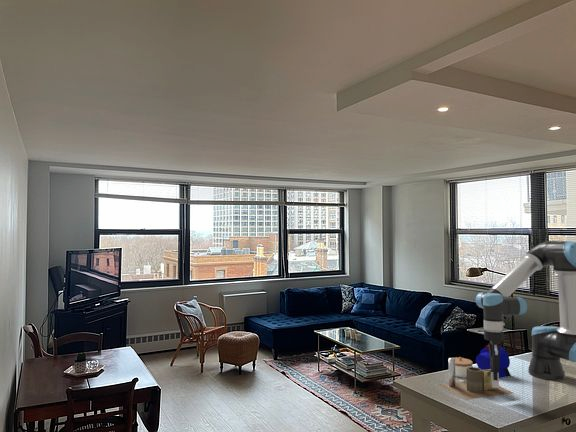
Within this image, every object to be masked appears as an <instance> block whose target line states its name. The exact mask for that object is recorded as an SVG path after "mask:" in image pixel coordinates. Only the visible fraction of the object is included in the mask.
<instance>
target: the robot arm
mask: <svg viewBox="0 0 576 432" xmlns="http://www.w3.org/2000/svg"><path fill="white" fill-rule="evenodd" d="M547 266H552V267H553V271H554V273H556V274H557V283H558V284H557V289H558V307H559V309H558V310H559V327H558V326H553V325H552V326H550V325H549V326H547V325H541V326H540V325H539V326H534V327H532V330H531V335H530V336H531V353H532V354H531V355H532V356H531V359H530V363H529V366H528V369H527V370H528V373H529V375H531V376H533V377H536V378H539V379H544V380H550V381H559V380H561V381H562V380H565V379H566V372H565V371H564V368H563V364H562V362H561V359H563V360H567V361H570V362H571V363H576V241H570V240H569V241H567V240H565V241H563V240H561V241H560V240H559V241H558V240H557V241H556V240H548V241H544V242H541V243H539V244H537V245H535V246H534V247H532V248H531V249H530V250H528V251H527V252H526V253H525V254H524V255H523V256H522V260H520V261H519V262H518V263H517V264H515V266H514V267H512V269H510V270H509V272H507V273H506V274H505V275H504V276H503V277H502V278H501V279H500V280H498V281H497V282H496V283H495V284H494V285H493V286H492V287H491V288H490V289H489V290H487V292H485V291H483V292H478V294H476V296H475V303H476V306H478V308H481V309H482V310H483V311H482V312H483V329H484V330H483V338H484V340H486V341H489V342H488V344H487V345H488V346H489V353H490V367H491V370H490V372H491V384H492V388H499V386H500V382H499V381H500V378H499V371H500V370H499V363H500V351H499V350H500V346H501V345H500V342H503V341H504V340H505V336H504V335H505V334H504V326H505V324H506V323H505V322H504V317H505V316H519V315H524V314H526V312H527V310H528V303H527V302H526V299H524V298H522V297H519V296H514V297H512V296H511V295H512V294H513V293H514V292H515V291H516V290H517V289H518V288H519V287H520V286H521V285H523V284H524V283H525V281H526V280H528V279H529V278H530V277H531V276H532V275H533V274H534V273H536V272H537V271H541V270H542V269H543V268H546V267H547ZM510 296H511V297H510ZM498 343H499V344H498Z"/></svg>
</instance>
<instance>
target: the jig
mask: <svg viewBox="0 0 576 432" xmlns="http://www.w3.org/2000/svg"><path fill="white" fill-rule="evenodd" d="M490 370H491V369H488V370H482V369H480V368H478V366H477V367H476V366H473V367H467V377H466V380H462V381H456V387H449V382H446V383H438V385H439V386H441V387H442V388H445V389H447V390H448V391H451V392H452V393H454V394H456V395H458V396H459V397H461V398H463V399H465V400H473V399H480V398H488V397H495V396H503V395H511V394H514V392H512V391H511V390H509V389H507V388H504V387H502V386H500V385H499V389H498V390H483V371H490Z"/></svg>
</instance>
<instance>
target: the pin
mask: <svg viewBox="0 0 576 432" xmlns="http://www.w3.org/2000/svg"><path fill="white" fill-rule="evenodd" d="M455 358H456V357H448V360H447V361H448V383H449V387H456V382H457V381H456V376H455Z"/></svg>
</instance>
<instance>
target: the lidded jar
mask: <svg viewBox="0 0 576 432" xmlns="http://www.w3.org/2000/svg"><path fill="white" fill-rule="evenodd" d="M454 358H455V377H456V378H467V367H474V366H473V363H474V362H473V361H472V360H471V359H469V358H464V357H463V356H462V357H461V356H459V357H454Z"/></svg>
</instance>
